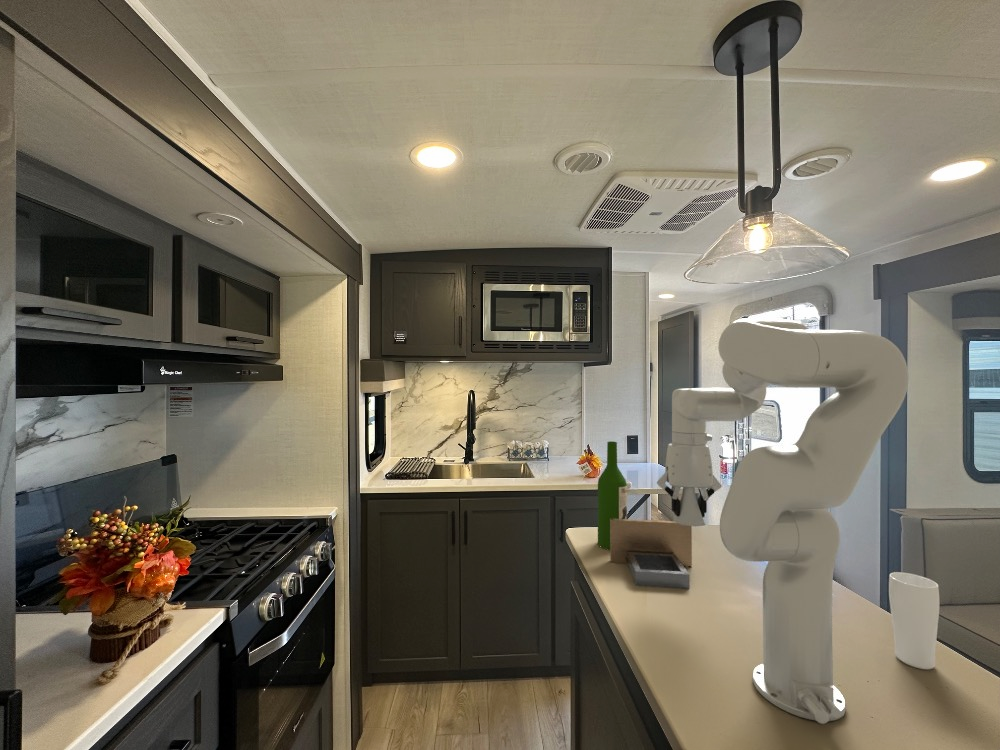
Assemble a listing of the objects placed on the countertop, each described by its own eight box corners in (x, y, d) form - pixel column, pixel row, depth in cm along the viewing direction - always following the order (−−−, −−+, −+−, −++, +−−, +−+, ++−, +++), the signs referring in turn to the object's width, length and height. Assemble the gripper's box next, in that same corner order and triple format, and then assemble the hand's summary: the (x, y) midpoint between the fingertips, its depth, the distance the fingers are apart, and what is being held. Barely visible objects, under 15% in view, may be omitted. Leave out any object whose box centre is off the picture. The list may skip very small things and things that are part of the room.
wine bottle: (621, 552, 132) (621, 444, 133) (593, 546, 137) (593, 442, 138) (630, 544, 140) (630, 441, 140) (603, 538, 145) (603, 439, 145)
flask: (710, 527, 102) (710, 484, 102) (679, 527, 102) (679, 484, 102) (697, 518, 109) (697, 477, 109) (668, 517, 109) (668, 477, 110)
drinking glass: (880, 650, 84) (879, 571, 84) (916, 651, 84) (915, 572, 84) (912, 673, 77) (910, 587, 78) (951, 674, 77) (950, 588, 77)
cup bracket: (708, 589, 109) (708, 541, 109) (617, 584, 111) (617, 536, 112) (690, 564, 124) (690, 522, 124) (610, 560, 127) (610, 518, 127)
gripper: (720, 438, 109) (720, 512, 108) (649, 436, 111) (649, 509, 111) (732, 442, 101) (732, 521, 101) (655, 440, 103) (655, 518, 103)
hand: (688, 514), depth 106 cm, fingers closed on flask, 4 cm apart
